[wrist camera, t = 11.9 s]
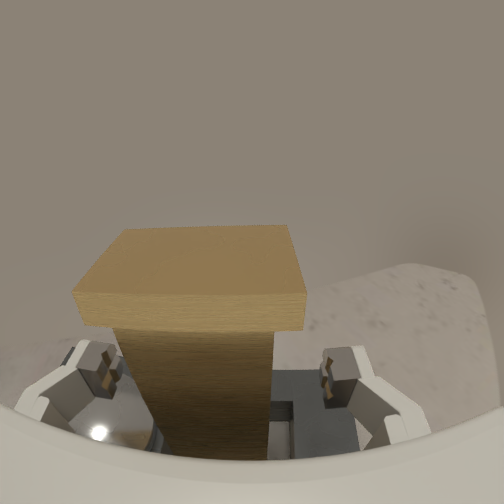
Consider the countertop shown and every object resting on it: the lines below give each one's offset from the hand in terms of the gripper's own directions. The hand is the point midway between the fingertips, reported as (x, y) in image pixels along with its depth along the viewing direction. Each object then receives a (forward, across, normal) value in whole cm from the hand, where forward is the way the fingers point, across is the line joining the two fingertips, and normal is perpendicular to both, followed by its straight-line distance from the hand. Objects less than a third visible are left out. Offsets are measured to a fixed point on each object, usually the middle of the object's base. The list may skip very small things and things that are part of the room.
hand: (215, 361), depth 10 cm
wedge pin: (-1, 0, +9) cm, 9 cm away
